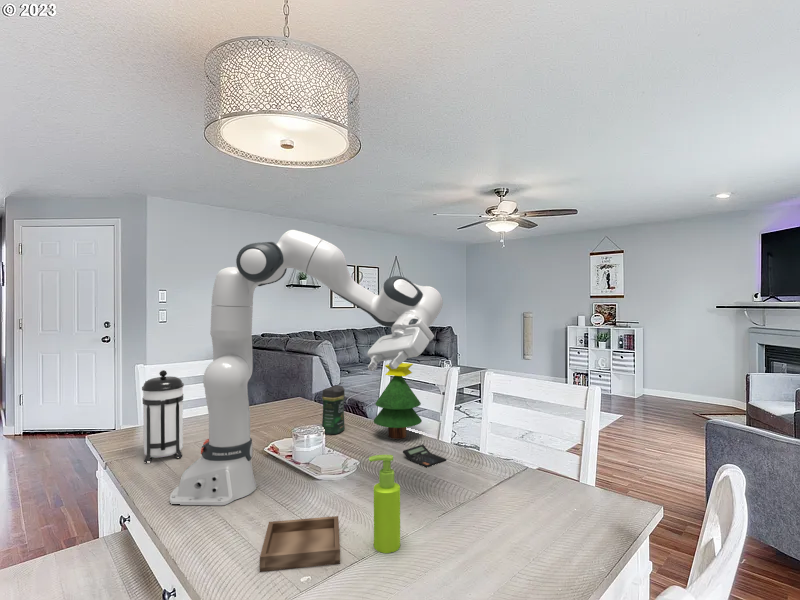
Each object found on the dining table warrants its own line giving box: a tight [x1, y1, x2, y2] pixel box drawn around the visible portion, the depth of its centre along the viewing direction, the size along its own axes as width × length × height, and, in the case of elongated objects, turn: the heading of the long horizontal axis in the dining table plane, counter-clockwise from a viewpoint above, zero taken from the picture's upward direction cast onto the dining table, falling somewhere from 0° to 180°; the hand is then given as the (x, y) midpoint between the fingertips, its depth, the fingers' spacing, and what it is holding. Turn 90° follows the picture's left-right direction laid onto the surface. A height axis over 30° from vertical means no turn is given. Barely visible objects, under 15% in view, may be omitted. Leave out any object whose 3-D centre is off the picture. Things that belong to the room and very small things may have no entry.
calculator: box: [402, 443, 447, 469], centre depth 149 cm, size 9×12×3 cm
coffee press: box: [141, 369, 185, 464], centre depth 151 cm, size 17×16×30 cm
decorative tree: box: [373, 362, 423, 440], centre depth 174 cm, size 19×19×30 cm
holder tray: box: [259, 515, 341, 573], centre depth 96 cm, size 16×14×3 cm
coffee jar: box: [321, 385, 346, 435], centre depth 179 cm, size 10×8×19 cm
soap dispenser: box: [368, 454, 401, 554], centre depth 97 cm, size 6×7×20 cm
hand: (381, 368), depth 114 cm, fingers open, 8 cm apart
